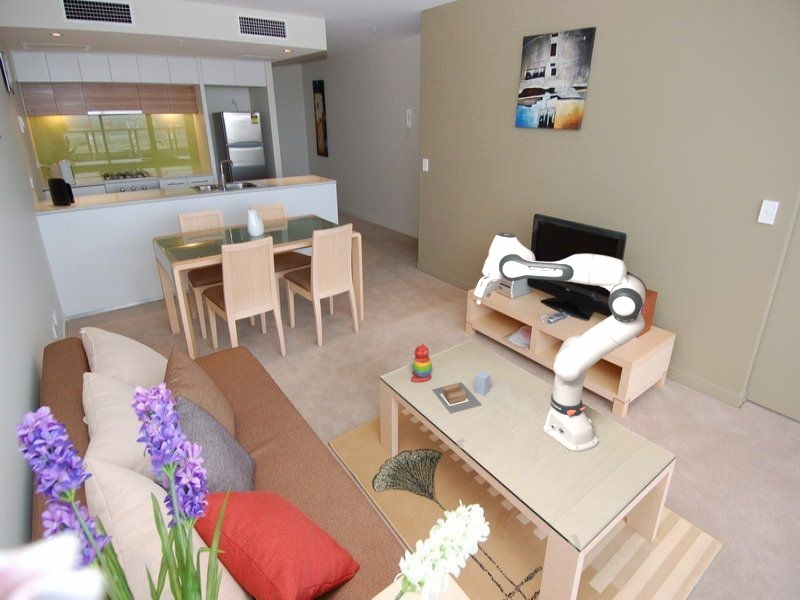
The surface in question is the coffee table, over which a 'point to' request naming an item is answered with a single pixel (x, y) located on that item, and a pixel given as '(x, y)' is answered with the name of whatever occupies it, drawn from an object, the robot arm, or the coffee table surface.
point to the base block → (454, 394)
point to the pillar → (482, 383)
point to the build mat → (459, 406)
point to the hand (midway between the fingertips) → (483, 299)
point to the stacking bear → (421, 365)
